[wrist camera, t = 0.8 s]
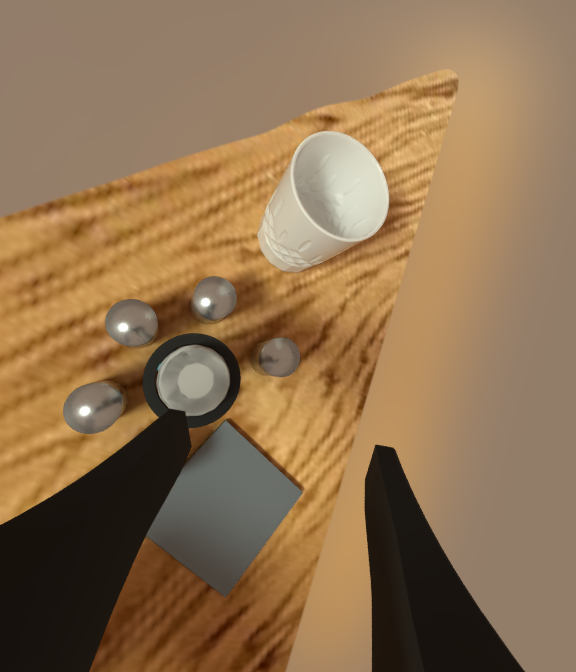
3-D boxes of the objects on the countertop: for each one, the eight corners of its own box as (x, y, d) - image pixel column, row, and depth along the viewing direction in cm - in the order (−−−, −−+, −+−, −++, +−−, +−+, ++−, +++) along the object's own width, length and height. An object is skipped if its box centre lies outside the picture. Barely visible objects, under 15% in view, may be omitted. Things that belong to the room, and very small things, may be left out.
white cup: (272, 290, 29) (321, 256, 20) (237, 213, 29) (271, 141, 20) (336, 263, 32) (404, 223, 23) (305, 192, 32) (363, 122, 23)
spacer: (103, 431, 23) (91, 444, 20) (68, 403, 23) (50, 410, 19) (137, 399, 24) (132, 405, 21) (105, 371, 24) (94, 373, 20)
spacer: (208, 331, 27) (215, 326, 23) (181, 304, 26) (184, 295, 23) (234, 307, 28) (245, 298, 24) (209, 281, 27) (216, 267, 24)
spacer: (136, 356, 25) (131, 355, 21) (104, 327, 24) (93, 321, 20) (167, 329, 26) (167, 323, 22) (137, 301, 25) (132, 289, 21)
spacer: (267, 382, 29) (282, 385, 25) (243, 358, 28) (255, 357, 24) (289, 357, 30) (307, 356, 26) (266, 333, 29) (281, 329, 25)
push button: (241, 376, 28) (279, 382, 18) (204, 428, 26) (226, 463, 17) (178, 330, 26) (186, 311, 17) (135, 383, 24) (117, 394, 15)
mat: (224, 594, 26) (225, 597, 25) (131, 522, 24) (131, 524, 23) (301, 490, 29) (303, 492, 28) (225, 419, 27) (225, 420, 26)
